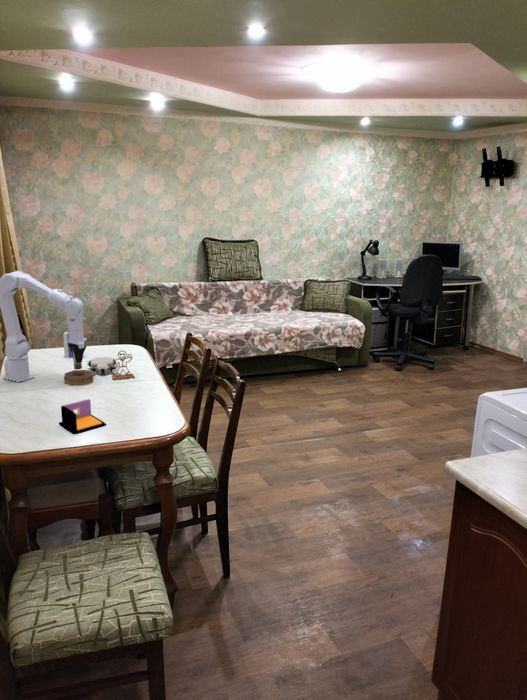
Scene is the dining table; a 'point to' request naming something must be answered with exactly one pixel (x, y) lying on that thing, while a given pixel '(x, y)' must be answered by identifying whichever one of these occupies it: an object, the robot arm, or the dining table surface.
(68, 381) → the walnut bead
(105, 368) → the robot toy
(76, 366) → the metal cylinder
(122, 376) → the cartoon figure standee
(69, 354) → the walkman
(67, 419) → the dollhouse room
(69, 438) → the dining table surface
